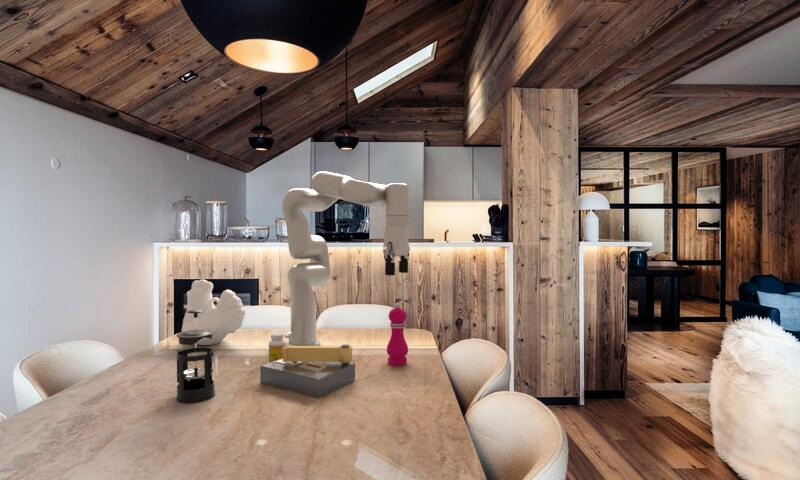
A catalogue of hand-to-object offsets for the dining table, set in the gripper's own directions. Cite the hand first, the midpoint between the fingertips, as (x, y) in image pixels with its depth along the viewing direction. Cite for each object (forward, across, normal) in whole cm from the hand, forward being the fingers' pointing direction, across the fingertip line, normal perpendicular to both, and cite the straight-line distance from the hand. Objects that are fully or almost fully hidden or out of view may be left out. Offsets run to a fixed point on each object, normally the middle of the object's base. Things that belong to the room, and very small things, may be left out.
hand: (396, 273), depth 142 cm
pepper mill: (+30, -2, -1) cm, 30 cm away
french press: (+30, +48, -36) cm, 67 cm away
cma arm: (+25, +24, -14) cm, 37 cm away
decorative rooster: (+31, +9, -75) cm, 81 cm away
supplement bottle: (+30, +16, -36) cm, 50 cm away
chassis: (+30, +26, -16) cm, 43 cm away
